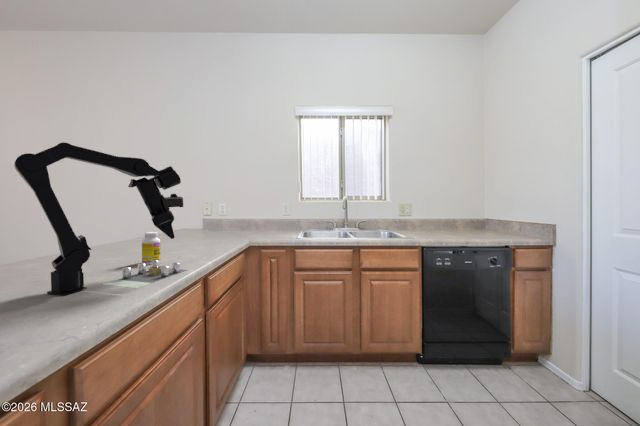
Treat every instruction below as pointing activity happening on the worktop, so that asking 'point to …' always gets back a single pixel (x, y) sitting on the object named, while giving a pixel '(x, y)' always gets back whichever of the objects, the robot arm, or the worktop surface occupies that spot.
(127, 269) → the spacers
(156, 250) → the supplement bottle
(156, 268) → the nut
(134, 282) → the mat
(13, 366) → the worktop surface
